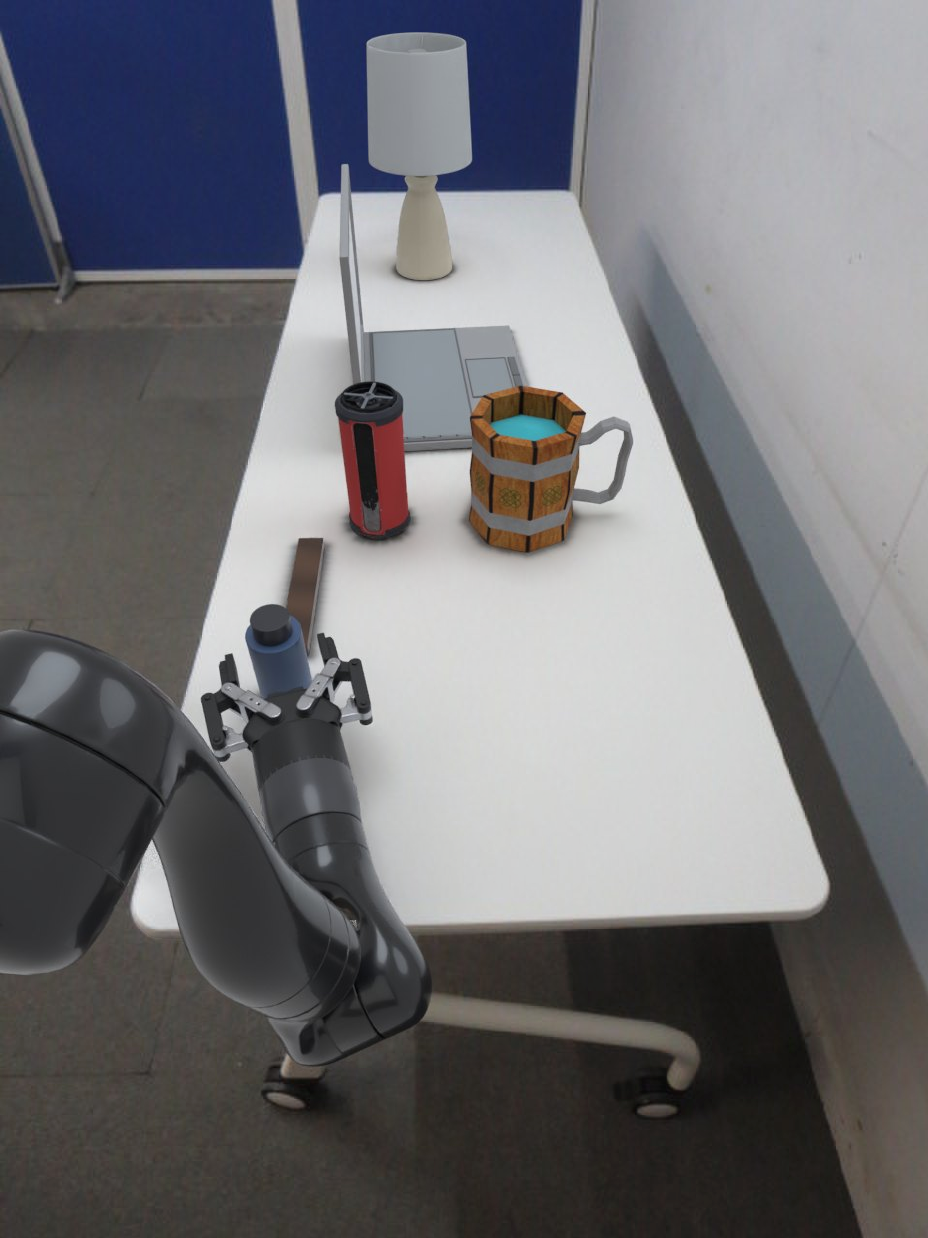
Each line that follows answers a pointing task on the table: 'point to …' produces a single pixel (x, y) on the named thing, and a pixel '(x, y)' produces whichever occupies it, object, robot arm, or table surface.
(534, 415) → the mug
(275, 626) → the water bottle
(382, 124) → the lamp
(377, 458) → the speaker
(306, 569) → the walnut strip
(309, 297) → the table surface
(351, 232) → the laptop
